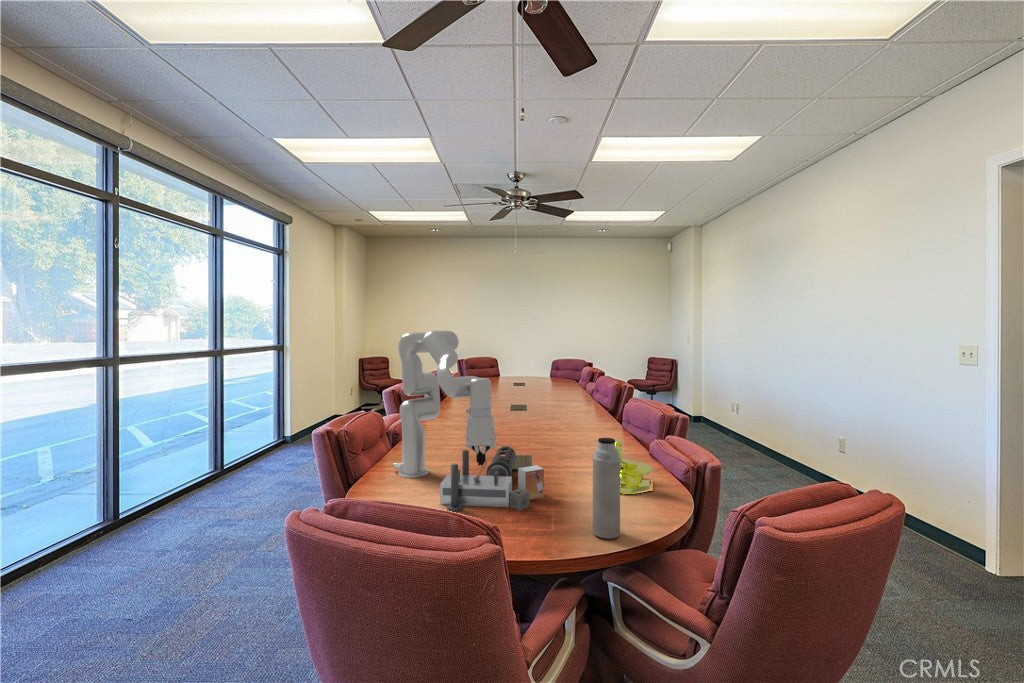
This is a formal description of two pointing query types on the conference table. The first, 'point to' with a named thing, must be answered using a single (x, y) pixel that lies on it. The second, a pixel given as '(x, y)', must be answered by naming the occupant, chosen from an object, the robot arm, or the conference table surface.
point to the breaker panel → (478, 490)
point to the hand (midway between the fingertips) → (481, 464)
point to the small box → (531, 481)
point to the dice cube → (519, 499)
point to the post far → (465, 462)
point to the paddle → (480, 470)
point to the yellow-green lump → (632, 473)
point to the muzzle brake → (502, 462)
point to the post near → (454, 490)
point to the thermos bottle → (606, 490)
